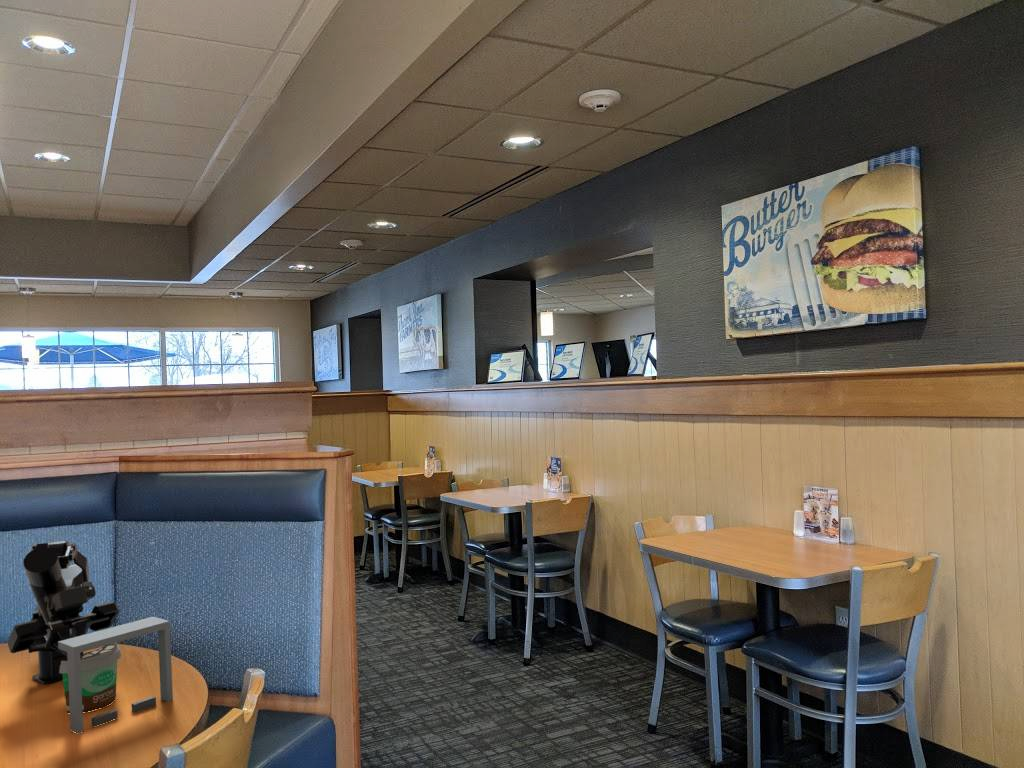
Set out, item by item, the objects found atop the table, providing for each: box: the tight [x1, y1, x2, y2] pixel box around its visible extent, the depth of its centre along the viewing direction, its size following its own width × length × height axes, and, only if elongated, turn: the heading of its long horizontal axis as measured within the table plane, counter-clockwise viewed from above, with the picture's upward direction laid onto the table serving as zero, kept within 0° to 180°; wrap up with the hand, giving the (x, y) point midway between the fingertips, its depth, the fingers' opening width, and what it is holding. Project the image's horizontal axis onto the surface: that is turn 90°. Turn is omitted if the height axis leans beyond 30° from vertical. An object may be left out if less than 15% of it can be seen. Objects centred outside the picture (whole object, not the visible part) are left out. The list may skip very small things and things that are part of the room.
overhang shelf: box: [58, 616, 174, 734], centre depth 141 cm, size 6×17×15 cm, turn 143°
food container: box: [59, 642, 122, 714], centre depth 145 cm, size 12×6×10 cm, turn 168°
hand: (80, 662), depth 150 cm, fingers closed
